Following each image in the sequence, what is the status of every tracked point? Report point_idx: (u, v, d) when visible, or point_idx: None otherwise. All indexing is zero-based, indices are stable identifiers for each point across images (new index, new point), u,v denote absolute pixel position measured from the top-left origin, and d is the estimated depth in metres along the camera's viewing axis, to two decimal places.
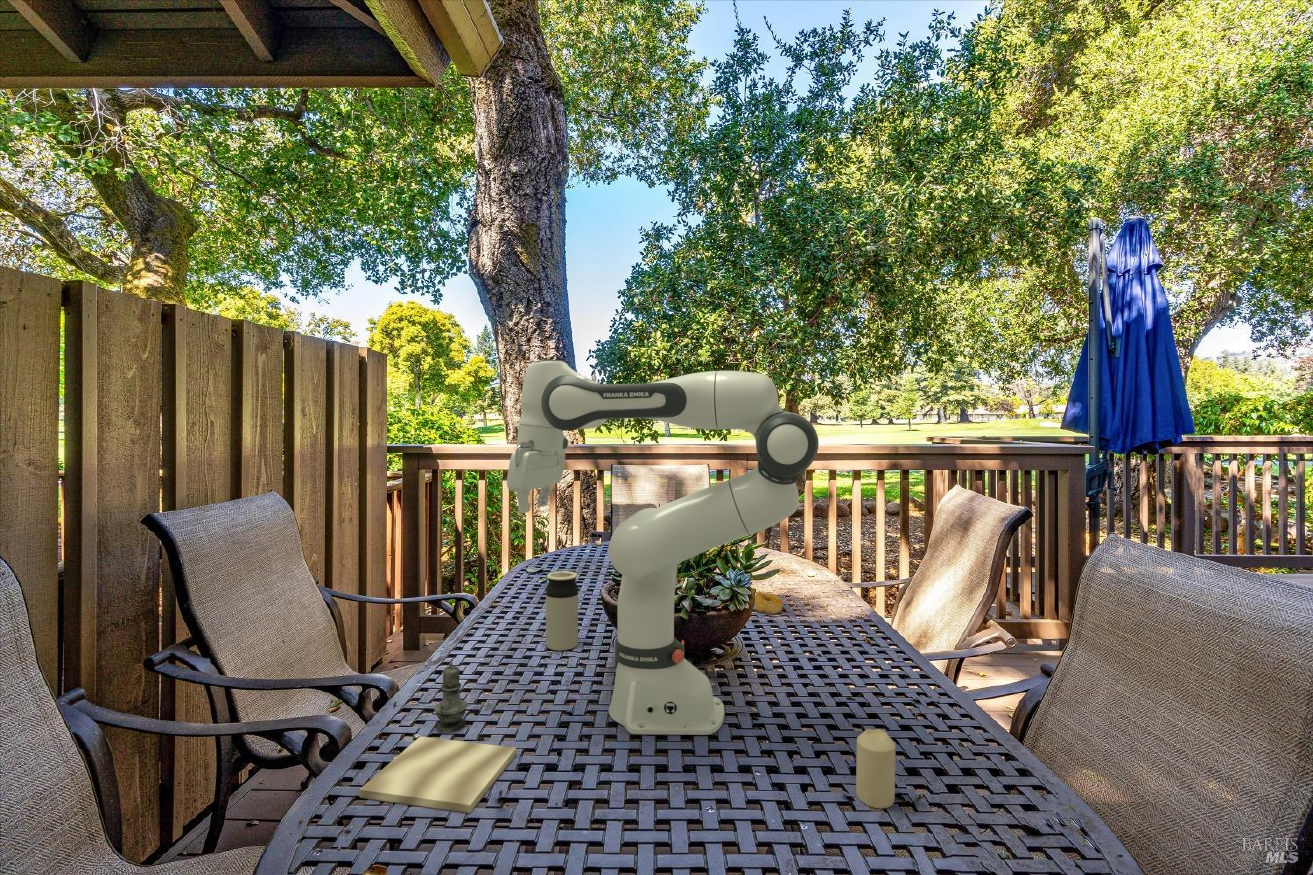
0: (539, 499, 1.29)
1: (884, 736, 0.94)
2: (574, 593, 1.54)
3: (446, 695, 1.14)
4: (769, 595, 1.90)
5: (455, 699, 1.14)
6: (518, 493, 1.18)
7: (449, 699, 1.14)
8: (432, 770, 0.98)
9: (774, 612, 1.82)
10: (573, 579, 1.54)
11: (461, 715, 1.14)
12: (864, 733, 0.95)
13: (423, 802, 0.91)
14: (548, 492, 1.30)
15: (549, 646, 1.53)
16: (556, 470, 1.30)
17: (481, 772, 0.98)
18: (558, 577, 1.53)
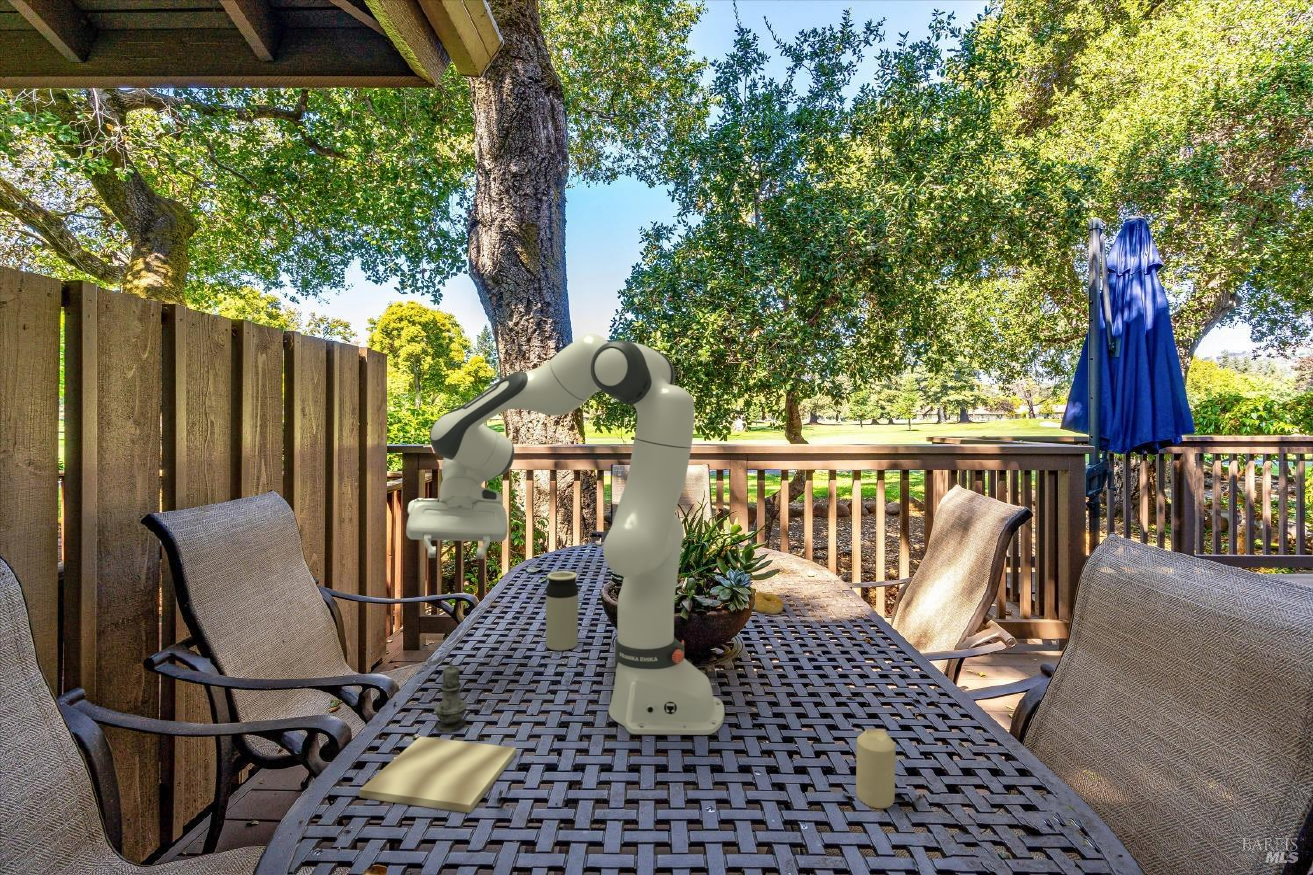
0: None
1: (884, 736, 0.94)
2: (574, 593, 1.54)
3: (446, 695, 1.14)
4: (769, 595, 1.89)
5: (455, 699, 1.14)
6: None
7: (448, 699, 1.14)
8: (432, 770, 0.98)
9: (774, 612, 1.82)
10: (573, 579, 1.54)
11: (461, 715, 1.14)
12: (864, 733, 0.94)
13: (423, 802, 0.91)
14: (484, 543, 1.29)
15: (549, 646, 1.53)
16: (489, 521, 1.32)
17: (481, 772, 0.98)
18: (558, 577, 1.53)
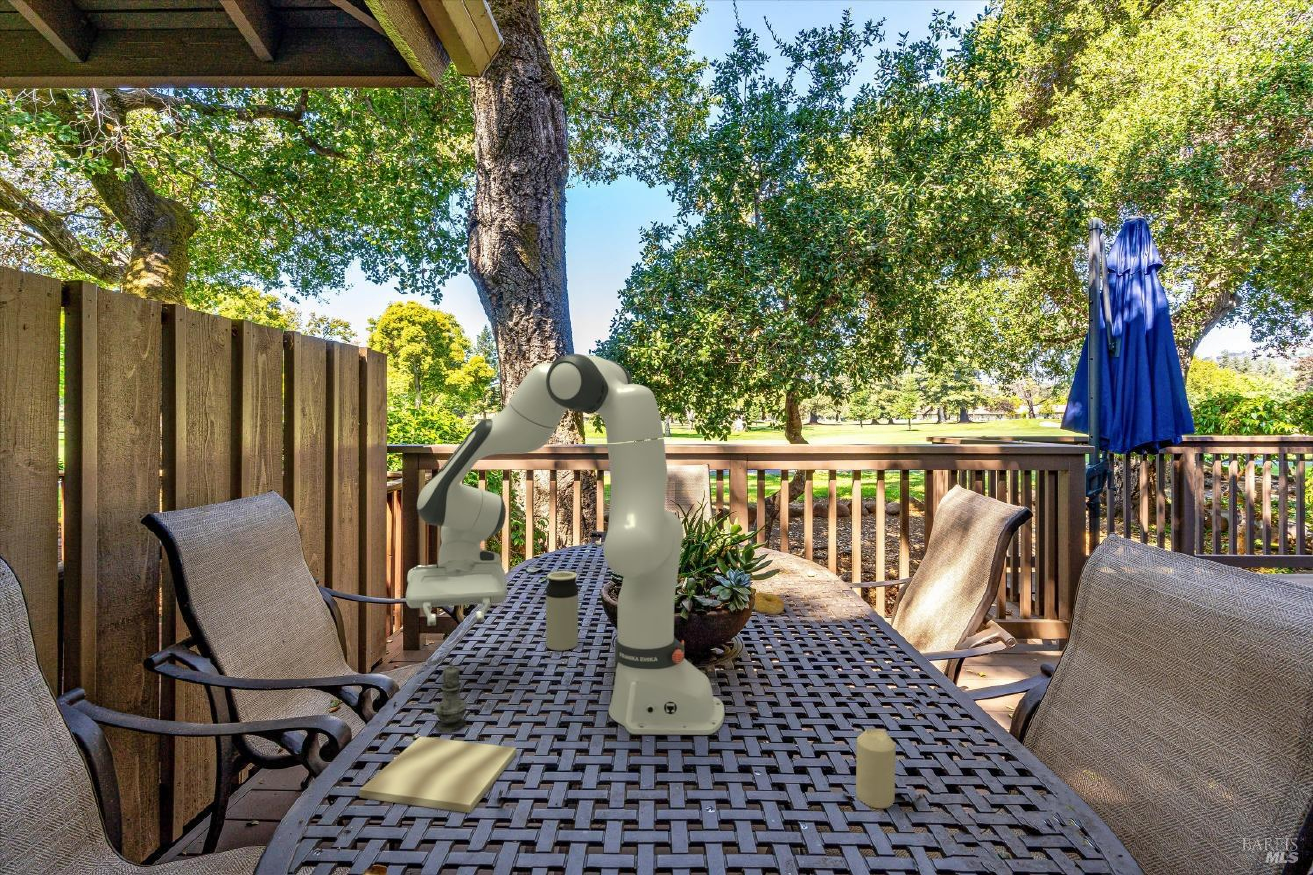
0: None
1: (884, 736, 0.94)
2: (574, 593, 1.54)
3: (446, 695, 1.14)
4: (770, 596, 1.89)
5: (455, 699, 1.14)
6: None
7: (448, 699, 1.14)
8: (432, 770, 0.98)
9: (775, 613, 1.82)
10: (573, 579, 1.54)
11: (461, 715, 1.14)
12: (864, 733, 0.94)
13: (423, 802, 0.91)
14: (483, 606, 1.29)
15: (549, 646, 1.53)
16: (488, 582, 1.31)
17: (481, 772, 0.98)
18: (558, 577, 1.53)
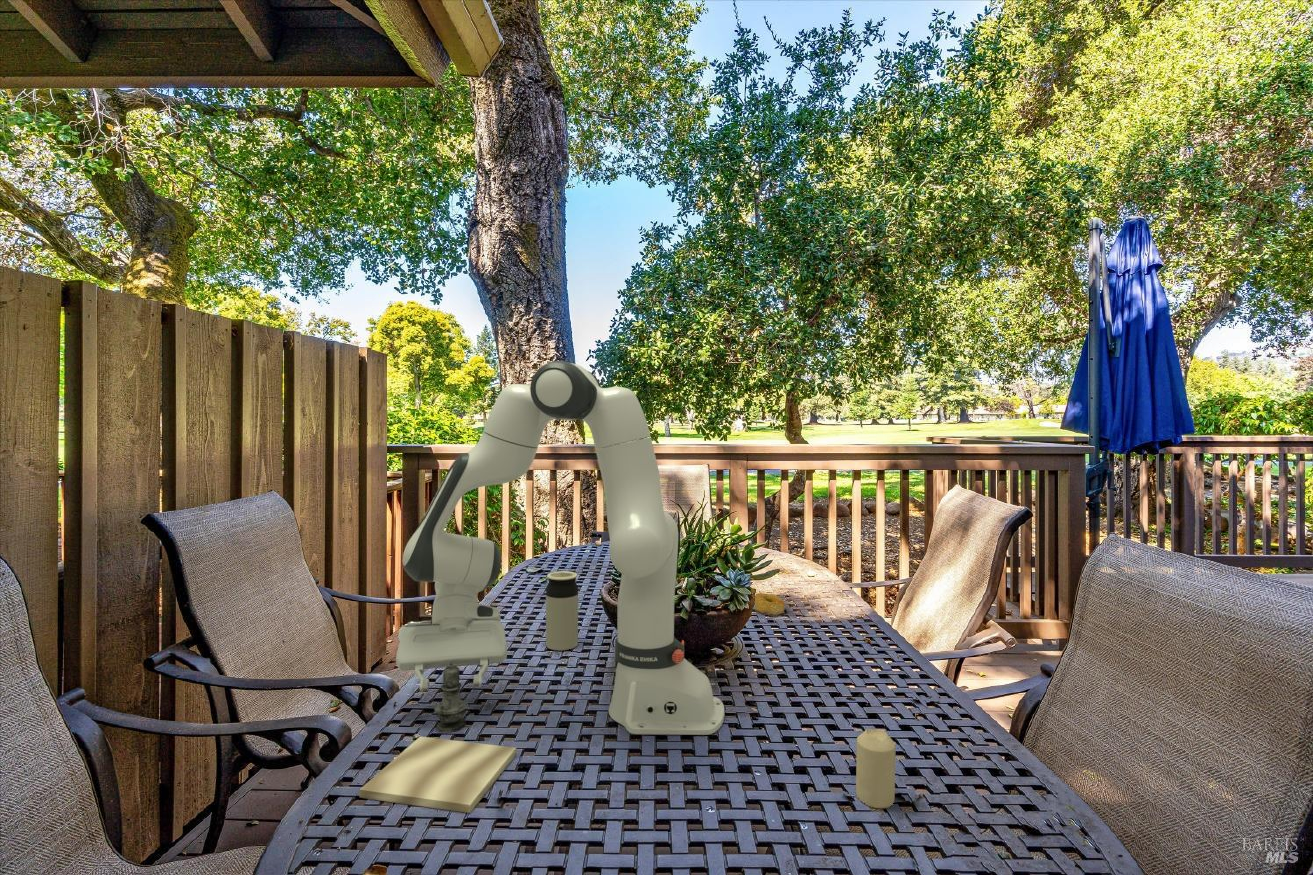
0: None
1: (884, 736, 0.94)
2: (574, 593, 1.54)
3: (446, 695, 1.14)
4: (771, 596, 1.89)
5: (455, 699, 1.14)
6: None
7: (449, 699, 1.14)
8: (432, 770, 0.98)
9: (776, 613, 1.81)
10: (573, 579, 1.54)
11: (461, 715, 1.14)
12: (864, 733, 0.94)
13: (423, 802, 0.91)
14: (481, 668, 1.18)
15: (549, 646, 1.53)
16: (486, 641, 1.21)
17: (481, 772, 0.98)
18: (558, 577, 1.53)
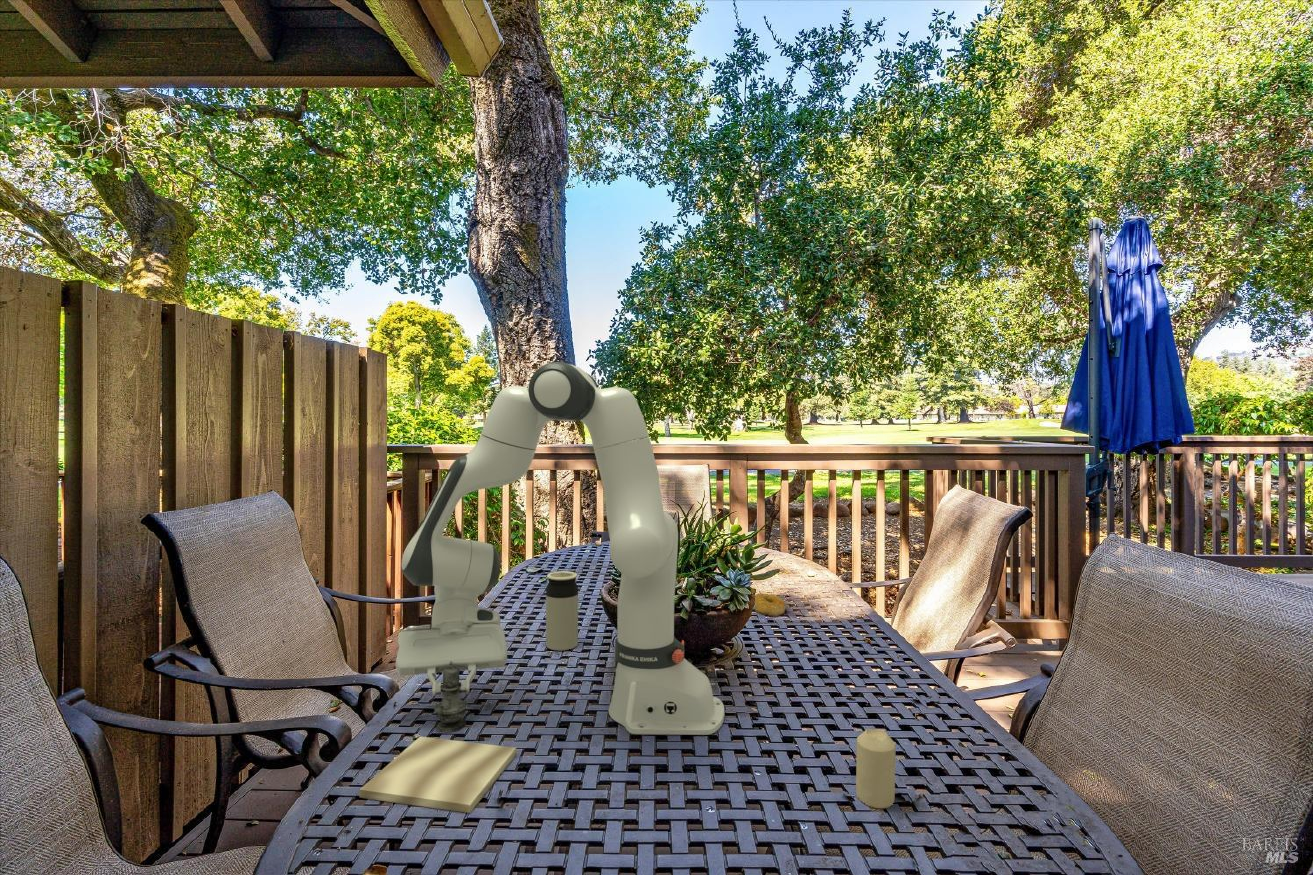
0: None
1: (884, 736, 0.94)
2: (574, 593, 1.54)
3: (446, 695, 1.14)
4: (771, 596, 1.88)
5: (455, 699, 1.14)
6: None
7: (448, 699, 1.14)
8: (432, 770, 0.98)
9: (777, 614, 1.81)
10: (573, 579, 1.54)
11: (461, 714, 1.14)
12: (864, 733, 0.94)
13: (423, 802, 0.91)
14: (469, 673, 1.17)
15: (549, 646, 1.53)
16: (486, 646, 1.20)
17: (481, 772, 0.98)
18: (558, 577, 1.53)
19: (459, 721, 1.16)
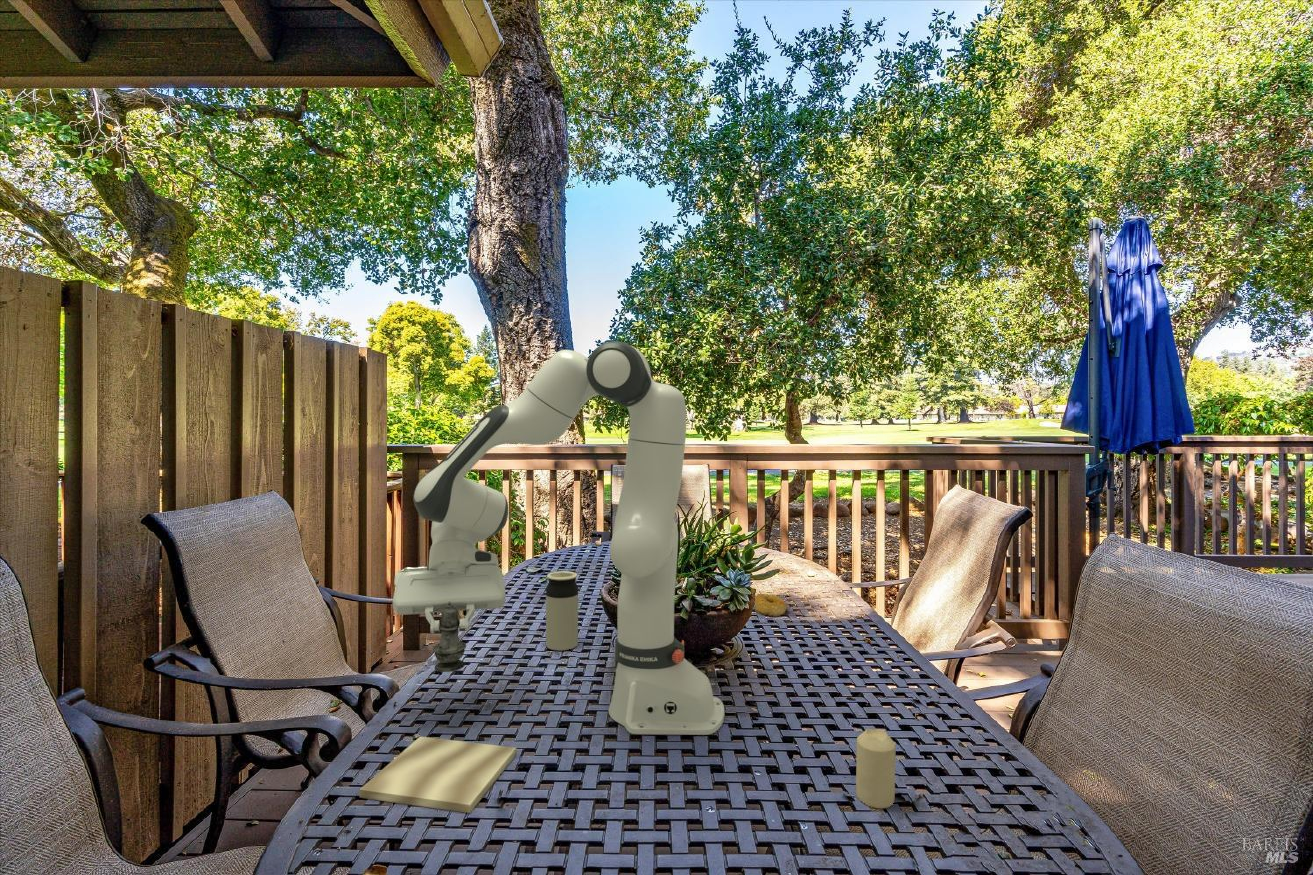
0: None
1: (884, 736, 0.94)
2: (574, 593, 1.54)
3: (445, 635, 1.13)
4: (772, 597, 1.88)
5: (453, 639, 1.13)
6: None
7: (447, 639, 1.13)
8: (432, 770, 0.98)
9: (777, 614, 1.81)
10: (573, 579, 1.54)
11: (460, 654, 1.13)
12: (864, 733, 0.95)
13: (423, 802, 0.91)
14: (467, 612, 1.16)
15: (549, 646, 1.53)
16: (484, 586, 1.19)
17: (481, 772, 0.98)
18: (558, 577, 1.53)
19: (457, 662, 1.15)
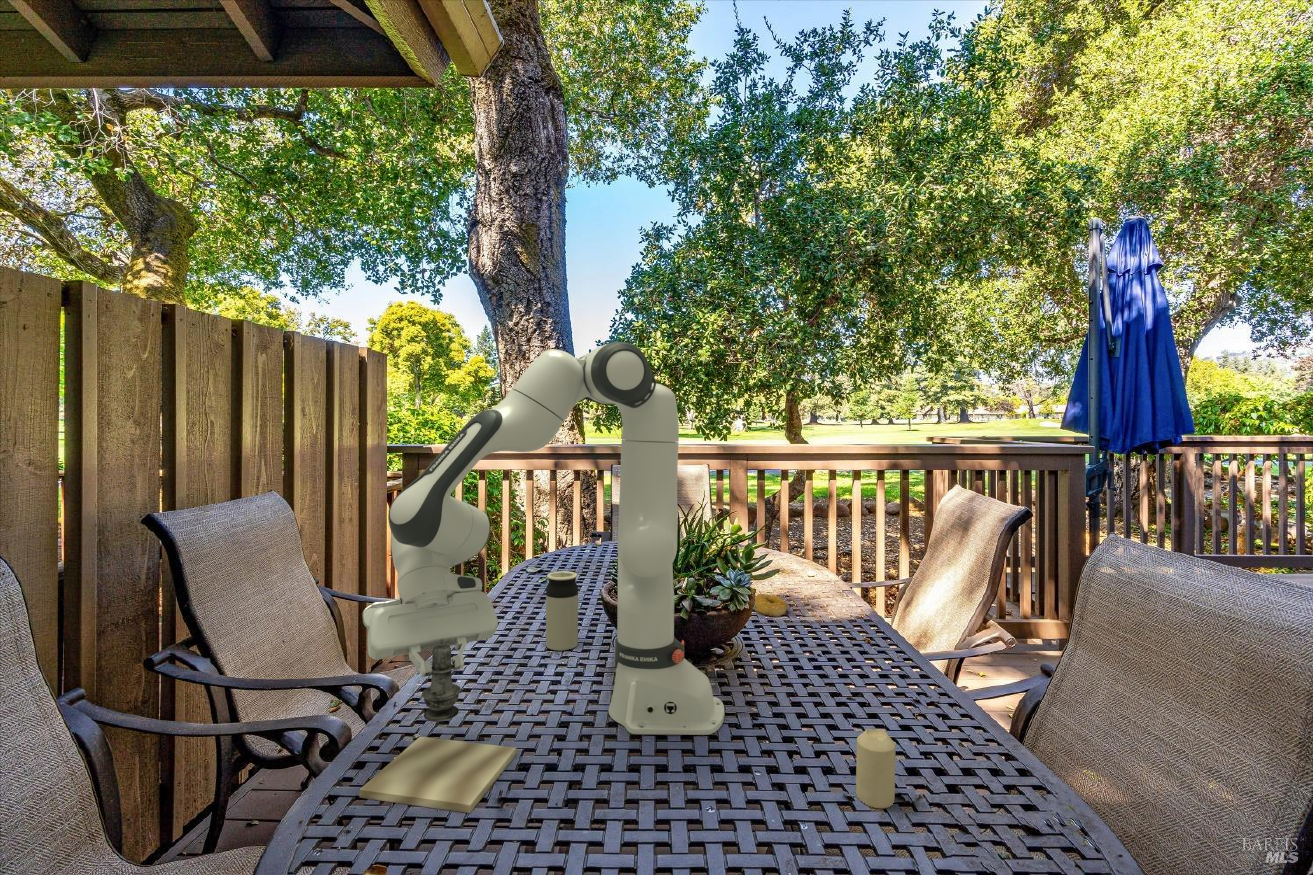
0: (451, 662, 1.00)
1: (884, 736, 0.94)
2: (574, 593, 1.54)
3: (439, 678, 0.98)
4: (772, 597, 1.88)
5: (448, 682, 0.98)
6: (409, 656, 0.99)
7: (442, 682, 0.98)
8: (432, 770, 0.98)
9: (778, 614, 1.80)
10: (573, 579, 1.54)
11: (456, 699, 0.99)
12: (864, 733, 0.94)
13: (423, 802, 0.91)
14: (460, 648, 1.01)
15: (549, 646, 1.53)
16: (473, 616, 1.05)
17: (481, 772, 0.98)
18: (558, 577, 1.53)
19: (450, 707, 1.00)
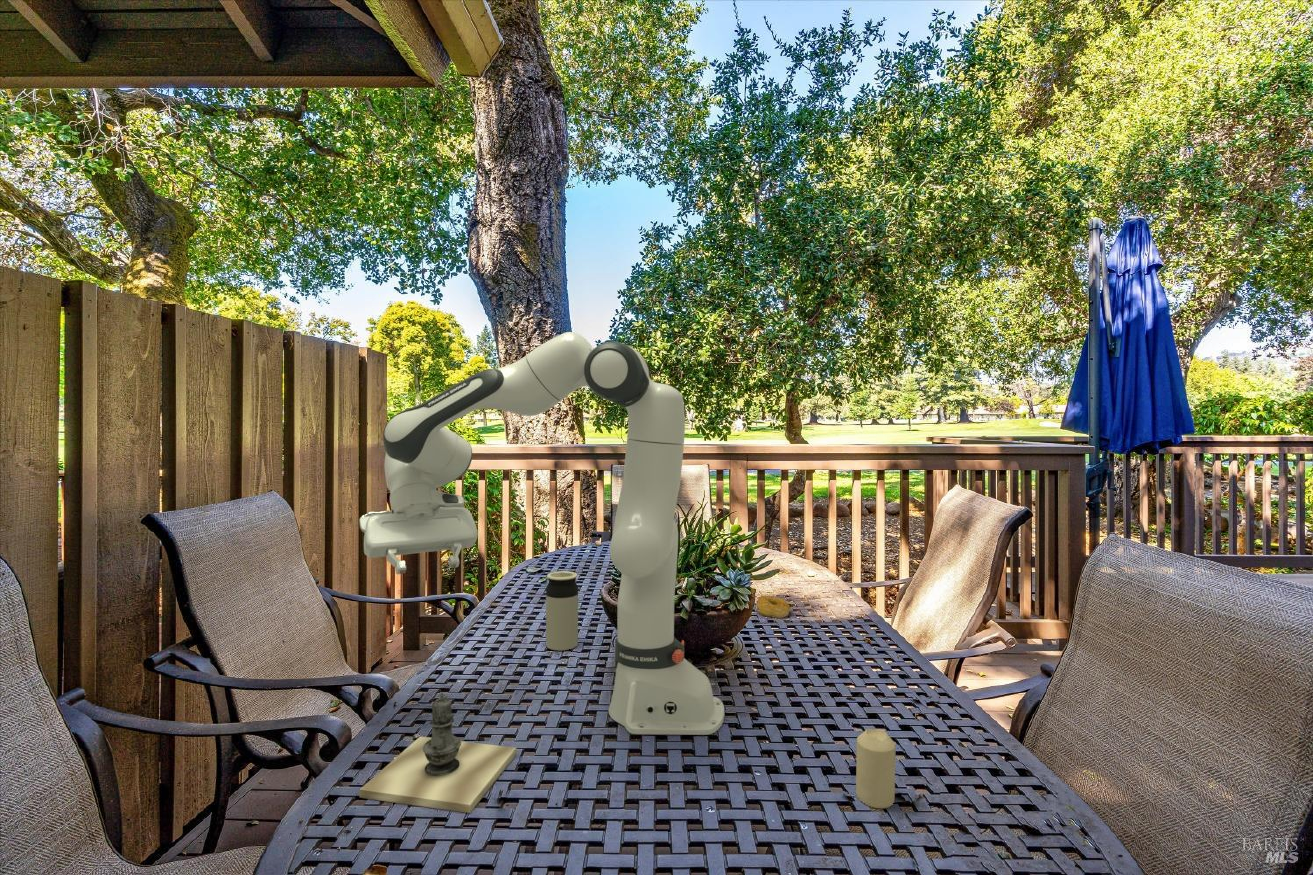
0: (449, 561, 1.17)
1: (884, 736, 0.94)
2: (574, 593, 1.54)
3: (440, 732, 0.98)
4: (775, 599, 1.86)
5: (449, 735, 0.99)
6: (387, 557, 1.13)
7: (442, 736, 0.98)
8: None
9: (781, 616, 1.79)
10: (573, 579, 1.54)
11: (457, 752, 0.99)
12: (864, 733, 0.94)
13: (423, 802, 0.91)
14: (456, 550, 1.18)
15: (549, 646, 1.53)
16: (456, 526, 1.21)
17: (481, 772, 0.98)
18: (558, 577, 1.53)
19: (451, 760, 1.00)
